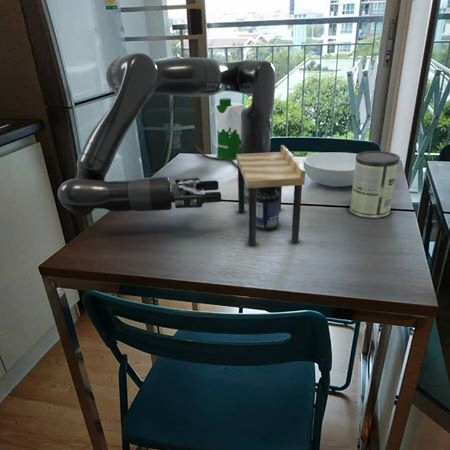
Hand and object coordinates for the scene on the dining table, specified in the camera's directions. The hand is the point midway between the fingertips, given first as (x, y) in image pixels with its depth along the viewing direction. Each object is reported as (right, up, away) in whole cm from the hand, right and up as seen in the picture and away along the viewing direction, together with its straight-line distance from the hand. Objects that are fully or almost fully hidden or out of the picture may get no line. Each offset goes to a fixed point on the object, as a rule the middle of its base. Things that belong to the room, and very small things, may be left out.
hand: (219, 190), depth 103 cm
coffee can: (+39, -2, +12) cm, 41 cm away
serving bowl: (+36, +10, +33) cm, 49 cm away
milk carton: (+3, +28, +62) cm, 69 cm away
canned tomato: (+10, +3, +22) cm, 25 cm away
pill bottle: (+11, -7, +6) cm, 15 cm away
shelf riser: (+11, -7, +6) cm, 15 cm away
